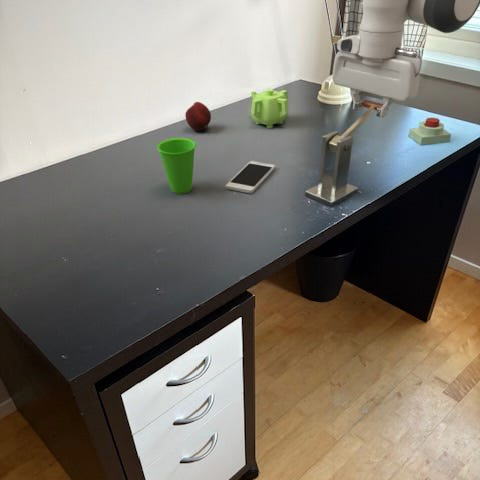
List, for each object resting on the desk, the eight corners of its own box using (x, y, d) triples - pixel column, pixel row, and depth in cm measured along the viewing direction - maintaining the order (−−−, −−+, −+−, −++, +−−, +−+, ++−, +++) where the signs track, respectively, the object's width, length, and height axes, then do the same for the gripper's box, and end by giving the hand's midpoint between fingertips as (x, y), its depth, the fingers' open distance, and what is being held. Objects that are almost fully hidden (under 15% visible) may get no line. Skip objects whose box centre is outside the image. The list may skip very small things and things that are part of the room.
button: (433, 123, 136) (435, 116, 135) (440, 127, 133) (442, 121, 132) (422, 124, 136) (423, 118, 134) (429, 129, 133) (430, 122, 132)
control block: (436, 132, 140) (439, 118, 137) (449, 141, 135) (453, 127, 132) (408, 136, 139) (411, 122, 136) (420, 145, 134) (423, 130, 131)
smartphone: (225, 188, 117) (225, 185, 116) (250, 163, 127) (250, 160, 127) (251, 193, 114) (251, 190, 114) (275, 168, 125) (275, 164, 124)
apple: (199, 123, 151) (197, 97, 145) (217, 129, 147) (215, 102, 141) (182, 130, 147) (179, 103, 141) (200, 136, 143) (198, 108, 137)
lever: (367, 105, 111) (366, 96, 110) (388, 111, 108) (388, 102, 106) (323, 149, 108) (321, 140, 106) (344, 156, 105) (343, 147, 103)
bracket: (331, 181, 118) (337, 125, 109) (357, 192, 114) (366, 134, 105) (305, 195, 113) (309, 137, 104) (331, 207, 109) (338, 147, 100)
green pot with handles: (287, 116, 154) (288, 83, 147) (289, 129, 145) (290, 95, 139) (250, 116, 154) (250, 84, 148) (250, 130, 146) (250, 96, 139)
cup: (155, 190, 117) (148, 146, 110) (182, 177, 122) (178, 134, 115) (180, 201, 113) (174, 156, 105) (207, 187, 118) (203, 144, 110)
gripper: (432, 49, 95) (417, 120, 104) (349, 34, 106) (342, 99, 115) (415, 55, 92) (400, 128, 101) (331, 40, 103) (325, 106, 112)
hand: (368, 113), depth 108 cm, fingers open, 5 cm apart
